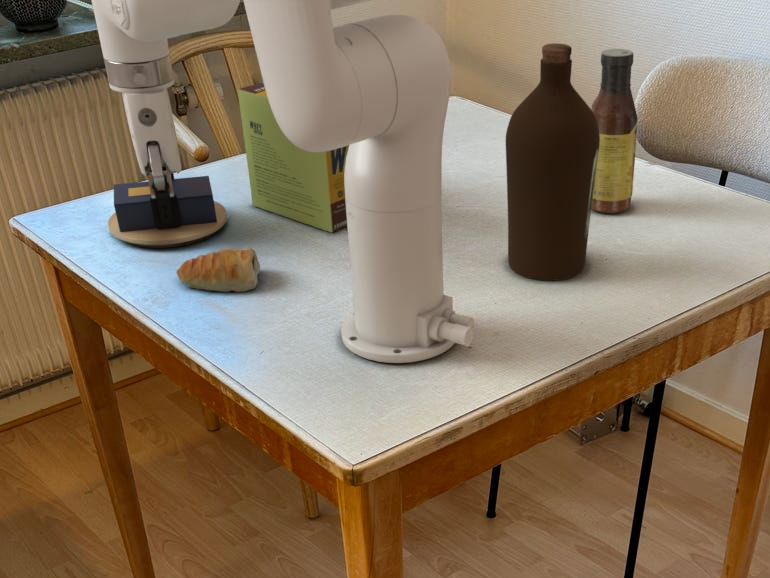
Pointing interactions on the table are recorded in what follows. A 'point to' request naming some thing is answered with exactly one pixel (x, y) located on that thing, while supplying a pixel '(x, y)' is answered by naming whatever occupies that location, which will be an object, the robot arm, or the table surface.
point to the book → (194, 208)
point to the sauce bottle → (615, 133)
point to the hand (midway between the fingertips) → (167, 214)
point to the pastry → (222, 270)
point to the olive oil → (551, 174)
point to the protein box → (290, 169)
